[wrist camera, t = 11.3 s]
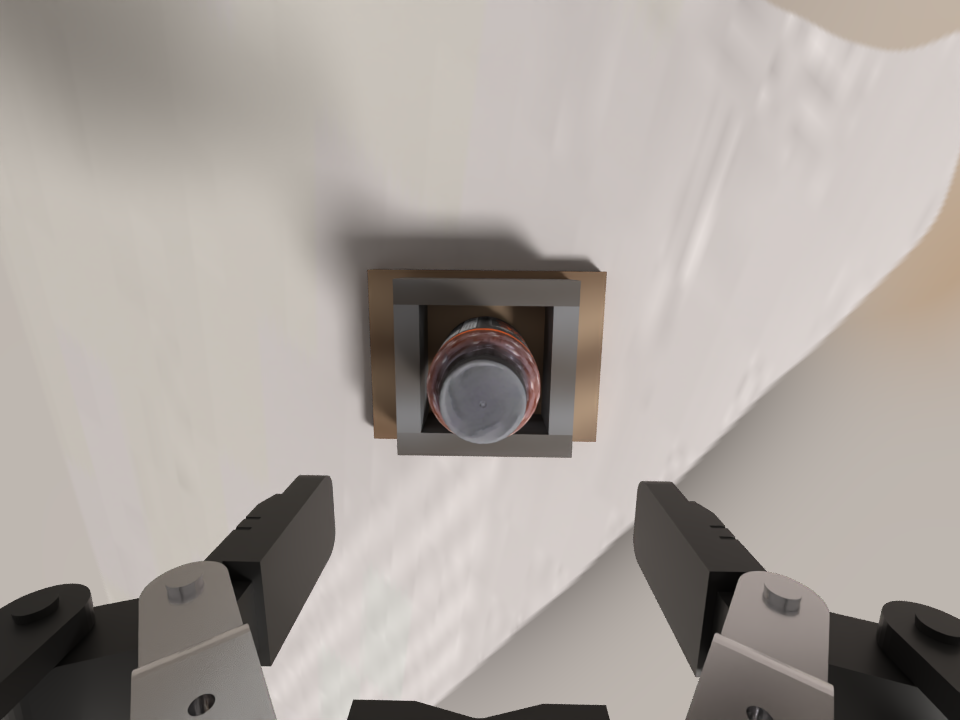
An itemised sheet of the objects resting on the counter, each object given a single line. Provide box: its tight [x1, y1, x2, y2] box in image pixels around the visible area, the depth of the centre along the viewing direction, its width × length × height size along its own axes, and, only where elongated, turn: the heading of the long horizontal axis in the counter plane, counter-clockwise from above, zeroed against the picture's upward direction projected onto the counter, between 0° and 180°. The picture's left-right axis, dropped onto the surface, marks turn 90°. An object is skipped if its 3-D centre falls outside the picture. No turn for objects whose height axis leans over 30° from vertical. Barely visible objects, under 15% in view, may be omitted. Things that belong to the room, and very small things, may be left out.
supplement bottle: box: [427, 316, 540, 444], centre depth 26 cm, size 6×6×11 cm
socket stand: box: [367, 269, 607, 458], centre depth 30 cm, size 12×16×6 cm
